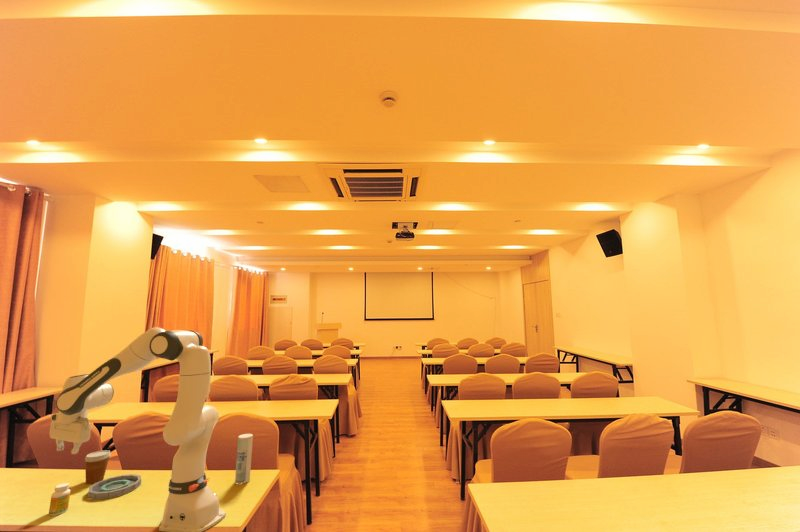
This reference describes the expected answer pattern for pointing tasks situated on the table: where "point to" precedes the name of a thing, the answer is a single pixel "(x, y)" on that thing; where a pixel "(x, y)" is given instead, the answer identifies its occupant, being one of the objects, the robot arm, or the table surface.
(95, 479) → the disposable coffee cup
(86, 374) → the robot arm
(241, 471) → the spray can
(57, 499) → the supplement bottle
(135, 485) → the round tray
